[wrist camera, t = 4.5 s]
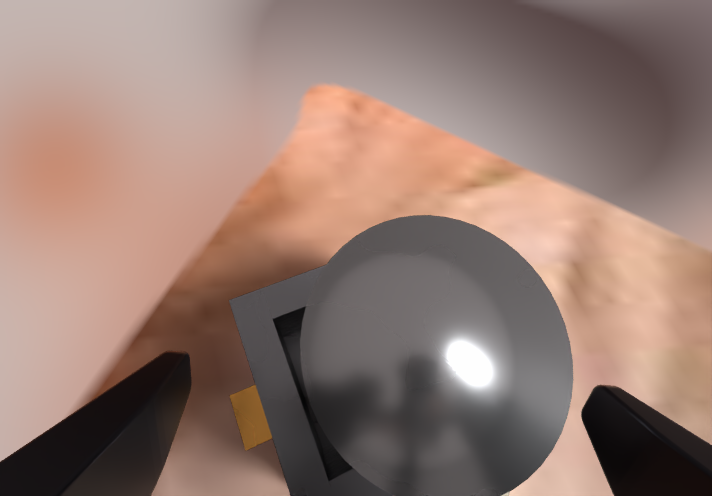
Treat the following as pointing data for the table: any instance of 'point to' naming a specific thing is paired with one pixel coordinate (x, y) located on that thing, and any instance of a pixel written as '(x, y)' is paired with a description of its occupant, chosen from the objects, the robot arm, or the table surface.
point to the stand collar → (287, 393)
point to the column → (436, 359)
